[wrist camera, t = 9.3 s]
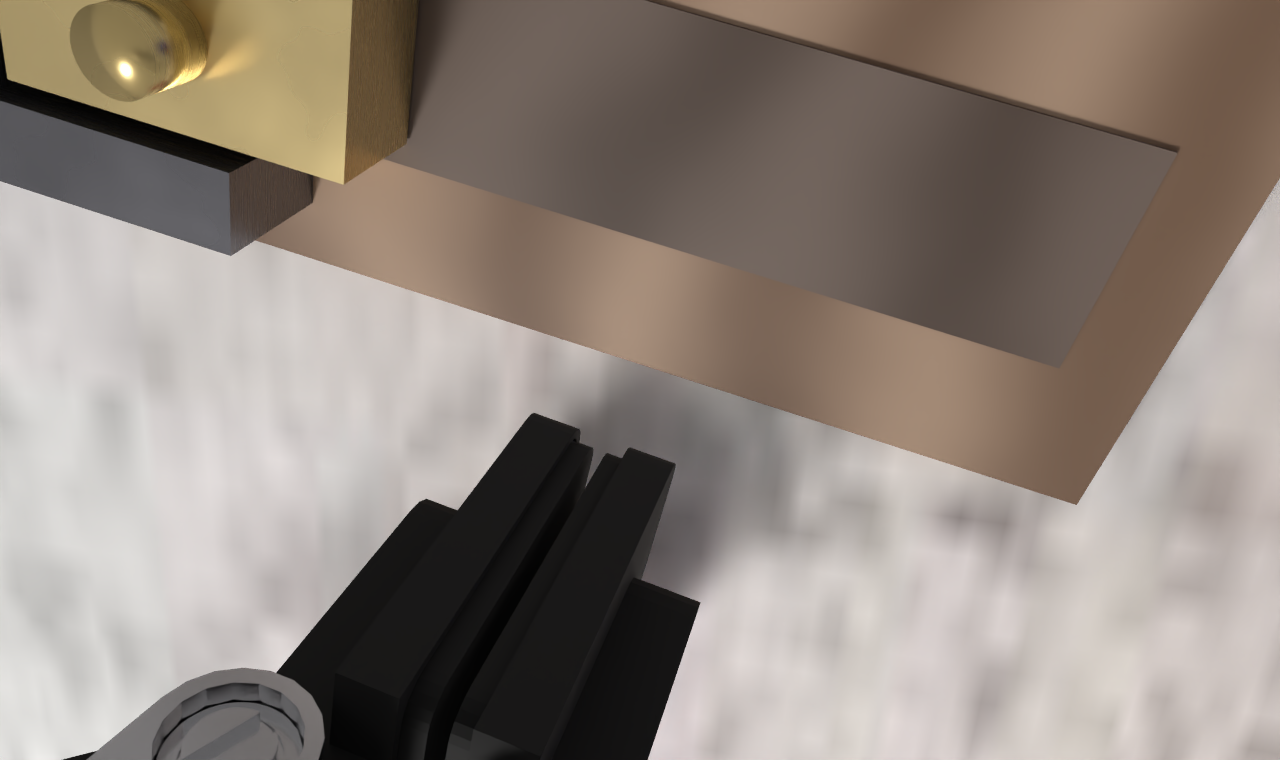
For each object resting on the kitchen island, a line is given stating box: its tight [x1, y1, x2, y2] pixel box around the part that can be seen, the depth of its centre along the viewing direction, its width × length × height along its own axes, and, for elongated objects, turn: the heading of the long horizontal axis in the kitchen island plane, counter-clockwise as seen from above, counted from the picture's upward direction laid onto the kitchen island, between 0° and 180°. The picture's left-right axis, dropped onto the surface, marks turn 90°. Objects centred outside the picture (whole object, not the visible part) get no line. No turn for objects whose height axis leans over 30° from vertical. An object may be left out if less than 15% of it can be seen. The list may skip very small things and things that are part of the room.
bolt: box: [0, 0, 419, 185], centre depth 20 cm, size 8×4×5 cm, turn 77°
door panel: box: [256, 0, 1280, 505], centre depth 22 cm, size 28×12×2 cm, turn 77°
